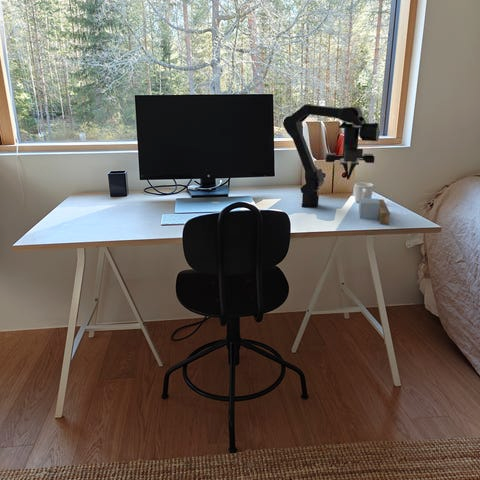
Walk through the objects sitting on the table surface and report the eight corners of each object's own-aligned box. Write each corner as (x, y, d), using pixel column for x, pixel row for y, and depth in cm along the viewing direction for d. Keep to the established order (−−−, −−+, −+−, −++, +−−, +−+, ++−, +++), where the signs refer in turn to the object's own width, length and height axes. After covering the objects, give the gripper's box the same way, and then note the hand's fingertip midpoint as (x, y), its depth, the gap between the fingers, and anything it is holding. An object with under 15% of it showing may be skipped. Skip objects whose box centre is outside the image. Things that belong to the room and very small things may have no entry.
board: (380, 224, 159) (381, 212, 158) (374, 209, 178) (375, 199, 176) (388, 224, 159) (390, 213, 157) (382, 209, 177) (383, 199, 176)
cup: (373, 206, 182) (375, 188, 180) (354, 205, 184) (355, 187, 181) (371, 200, 192) (372, 182, 189) (353, 199, 194) (354, 182, 191)
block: (359, 218, 167) (361, 202, 164) (358, 213, 173) (359, 198, 171) (378, 219, 165) (379, 203, 163) (376, 214, 172) (377, 198, 169)
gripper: (326, 142, 162) (324, 182, 167) (377, 143, 158) (373, 184, 164) (326, 138, 172) (324, 177, 177) (374, 139, 169) (371, 178, 174)
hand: (347, 179), depth 173 cm, fingers closed
